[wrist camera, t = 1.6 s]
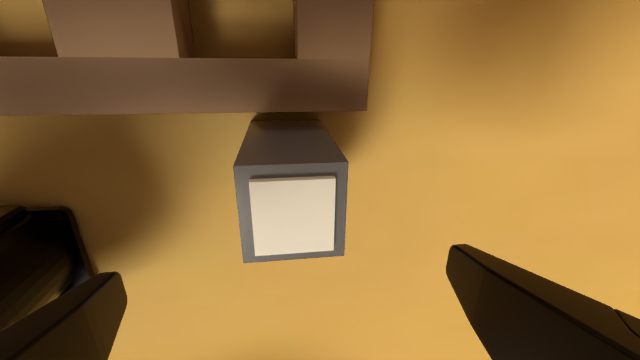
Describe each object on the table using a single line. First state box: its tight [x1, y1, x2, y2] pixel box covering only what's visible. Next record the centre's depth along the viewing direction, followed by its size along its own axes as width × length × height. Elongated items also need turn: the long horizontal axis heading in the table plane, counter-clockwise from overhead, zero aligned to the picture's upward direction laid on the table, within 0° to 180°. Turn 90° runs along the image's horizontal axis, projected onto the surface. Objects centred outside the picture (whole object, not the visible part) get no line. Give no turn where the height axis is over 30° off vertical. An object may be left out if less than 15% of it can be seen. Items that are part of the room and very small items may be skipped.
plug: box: [233, 120, 348, 263], centre depth 15 cm, size 4×4×8 cm
